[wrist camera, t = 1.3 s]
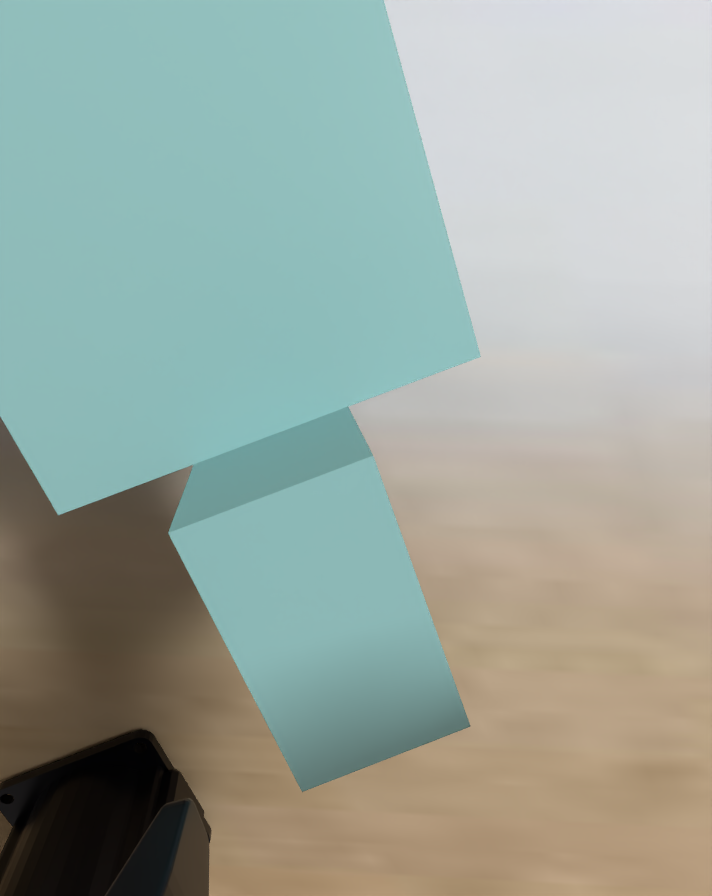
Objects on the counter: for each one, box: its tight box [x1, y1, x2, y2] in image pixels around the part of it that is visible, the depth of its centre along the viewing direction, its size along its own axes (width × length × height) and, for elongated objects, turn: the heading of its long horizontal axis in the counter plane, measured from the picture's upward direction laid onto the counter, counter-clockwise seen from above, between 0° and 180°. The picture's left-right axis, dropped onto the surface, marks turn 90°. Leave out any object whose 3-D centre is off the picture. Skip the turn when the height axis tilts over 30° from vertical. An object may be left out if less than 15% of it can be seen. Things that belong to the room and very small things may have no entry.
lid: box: [0, 0, 481, 792], centre depth 10 cm, size 10×21×5 cm, turn 19°
